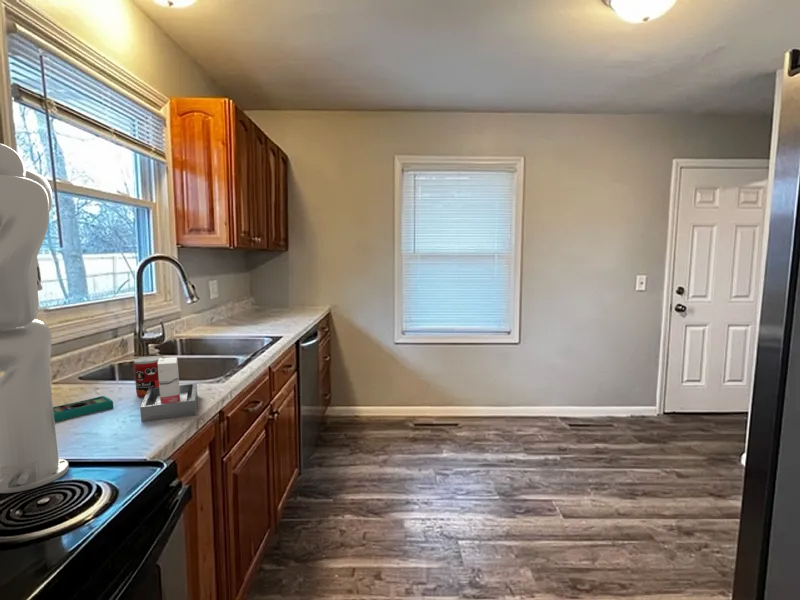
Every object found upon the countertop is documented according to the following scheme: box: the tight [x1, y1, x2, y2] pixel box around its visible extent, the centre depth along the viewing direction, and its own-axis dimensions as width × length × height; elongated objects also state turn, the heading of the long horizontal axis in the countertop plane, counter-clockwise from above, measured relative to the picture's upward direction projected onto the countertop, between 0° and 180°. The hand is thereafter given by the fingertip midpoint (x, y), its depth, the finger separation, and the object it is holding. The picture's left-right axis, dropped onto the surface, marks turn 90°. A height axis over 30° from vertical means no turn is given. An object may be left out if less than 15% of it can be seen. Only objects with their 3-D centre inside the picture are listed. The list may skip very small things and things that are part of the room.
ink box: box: [157, 356, 180, 404], centre depth 132 cm, size 9×5×12 cm, turn 24°
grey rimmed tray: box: [139, 382, 198, 423], centre depth 133 cm, size 18×13×4 cm
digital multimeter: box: [53, 395, 114, 423], centre depth 131 cm, size 7×15×3 cm, turn 139°
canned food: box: [133, 355, 163, 398], centre depth 146 cm, size 8×8×11 cm
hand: (17, 316), depth 113 cm, fingers closed
